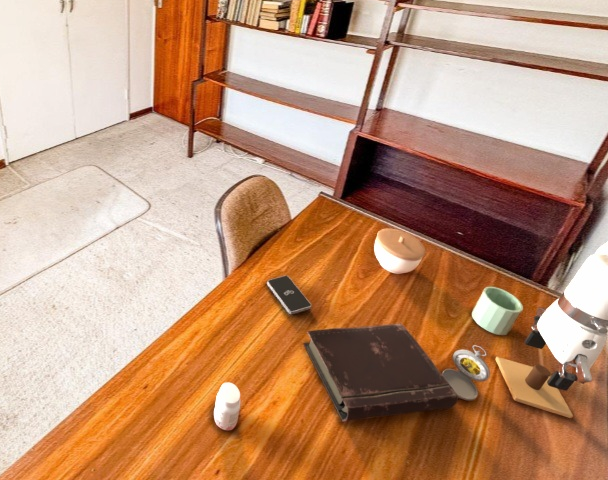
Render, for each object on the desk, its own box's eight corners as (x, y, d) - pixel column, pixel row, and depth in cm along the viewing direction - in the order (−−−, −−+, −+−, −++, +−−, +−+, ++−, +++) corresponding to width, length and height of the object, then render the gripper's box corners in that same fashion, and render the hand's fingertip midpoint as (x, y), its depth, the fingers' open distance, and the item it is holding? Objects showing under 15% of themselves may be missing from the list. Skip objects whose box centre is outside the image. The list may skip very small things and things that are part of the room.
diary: (453, 412, 83) (461, 397, 81) (343, 426, 80) (350, 411, 78) (393, 332, 100) (399, 318, 98) (301, 341, 97) (305, 327, 95)
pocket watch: (445, 395, 87) (462, 365, 82) (434, 360, 94) (450, 331, 90) (489, 409, 84) (509, 380, 80) (475, 373, 91) (492, 344, 87)
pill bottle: (237, 408, 82) (242, 383, 79) (236, 434, 78) (242, 408, 74) (214, 402, 83) (218, 377, 80) (212, 427, 79) (217, 402, 75)
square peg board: (546, 374, 92) (558, 357, 89) (571, 418, 83) (585, 401, 81) (495, 359, 95) (505, 342, 92) (514, 400, 86) (526, 383, 84)
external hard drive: (286, 280, 114) (287, 274, 113) (311, 311, 105) (312, 306, 104) (265, 285, 112) (266, 280, 111) (289, 318, 103) (291, 312, 102)
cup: (501, 314, 106) (514, 291, 103) (514, 339, 100) (529, 316, 96) (467, 305, 109) (479, 283, 105) (477, 329, 102) (491, 306, 98)
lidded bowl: (366, 268, 120) (376, 239, 115) (372, 244, 129) (382, 217, 125) (414, 288, 113) (426, 259, 109) (416, 261, 123) (428, 234, 118)
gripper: (641, 356, 70) (590, 412, 77) (581, 284, 85) (543, 337, 92) (588, 341, 72) (543, 398, 79) (539, 273, 87) (505, 326, 94)
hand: (543, 365), depth 86 cm, fingers open, 9 cm apart
